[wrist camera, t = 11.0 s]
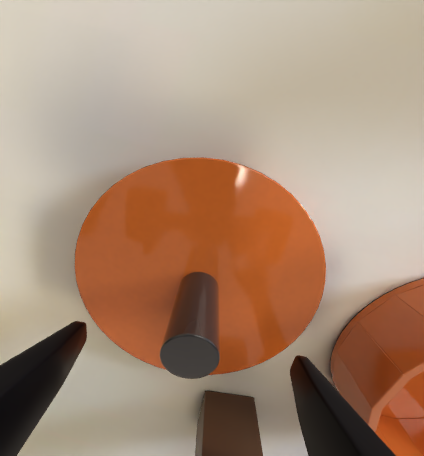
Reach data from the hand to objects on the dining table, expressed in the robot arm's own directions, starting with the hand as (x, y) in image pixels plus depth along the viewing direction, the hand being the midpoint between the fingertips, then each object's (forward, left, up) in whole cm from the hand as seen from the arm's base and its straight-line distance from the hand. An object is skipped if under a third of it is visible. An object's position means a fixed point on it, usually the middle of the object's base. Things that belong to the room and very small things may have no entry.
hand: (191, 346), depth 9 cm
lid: (0, 0, -4) cm, 4 cm away
